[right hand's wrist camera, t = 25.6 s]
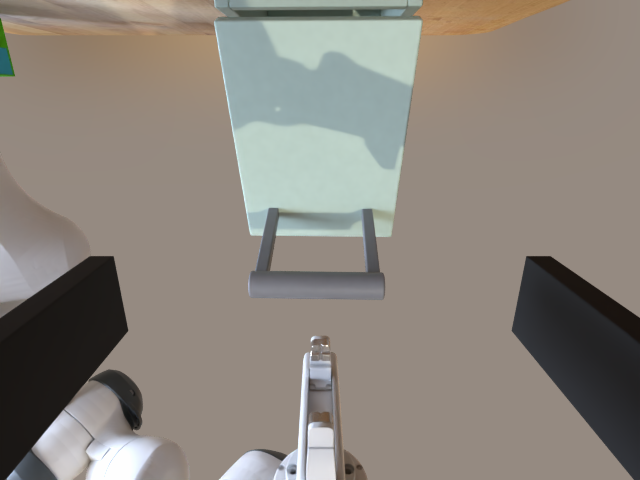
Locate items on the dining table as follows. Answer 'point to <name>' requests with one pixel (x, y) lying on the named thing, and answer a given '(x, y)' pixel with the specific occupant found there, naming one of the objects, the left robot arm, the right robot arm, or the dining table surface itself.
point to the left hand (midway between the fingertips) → (320, 374)
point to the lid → (319, 136)
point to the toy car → (5, 56)
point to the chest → (317, 8)
